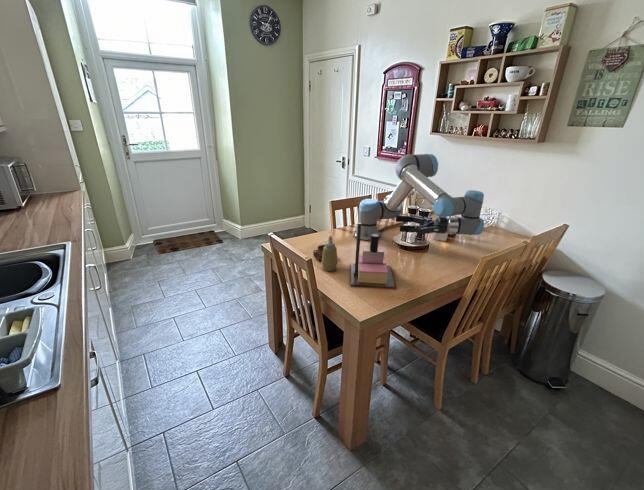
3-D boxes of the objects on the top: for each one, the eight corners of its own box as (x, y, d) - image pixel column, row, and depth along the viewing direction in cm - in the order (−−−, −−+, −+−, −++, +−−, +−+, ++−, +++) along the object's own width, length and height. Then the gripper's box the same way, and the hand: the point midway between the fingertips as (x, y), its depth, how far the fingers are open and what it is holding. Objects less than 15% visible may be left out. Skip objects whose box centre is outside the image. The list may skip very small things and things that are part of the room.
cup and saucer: (321, 264, 171) (322, 253, 168) (308, 256, 180) (308, 246, 177) (339, 259, 177) (340, 248, 175) (326, 251, 186) (326, 241, 184)
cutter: (361, 262, 160) (364, 233, 153) (382, 263, 159) (385, 234, 153) (362, 265, 156) (364, 236, 150) (383, 266, 156) (386, 237, 149)
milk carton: (445, 241, 203) (451, 212, 195) (434, 239, 206) (438, 210, 198) (447, 237, 209) (452, 209, 201) (435, 235, 212) (440, 207, 204)
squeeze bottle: (330, 264, 172) (331, 231, 164) (340, 269, 166) (342, 236, 158) (318, 268, 167) (318, 235, 160) (327, 274, 161) (328, 240, 154)
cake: (357, 265, 168) (358, 255, 166) (383, 267, 167) (384, 256, 165) (358, 282, 152) (359, 270, 150) (386, 283, 151) (388, 272, 149)
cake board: (350, 265, 171) (353, 215, 160) (389, 267, 169) (395, 217, 158) (350, 286, 151) (354, 231, 140) (394, 288, 149) (401, 233, 138)
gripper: (452, 243, 137) (400, 241, 138) (437, 224, 159) (393, 222, 161) (455, 226, 134) (402, 224, 135) (440, 209, 156) (395, 207, 158)
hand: (397, 223), depth 148 cm, fingers open, 13 cm apart
